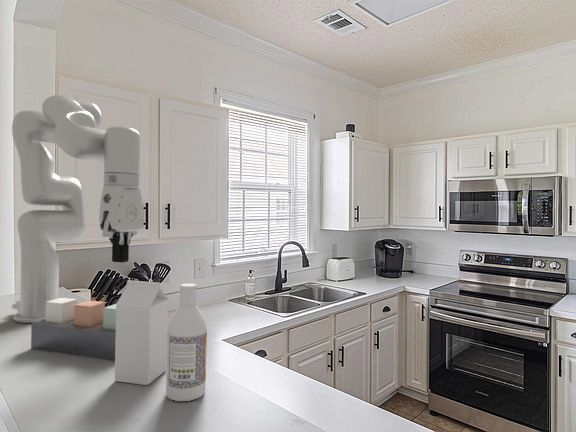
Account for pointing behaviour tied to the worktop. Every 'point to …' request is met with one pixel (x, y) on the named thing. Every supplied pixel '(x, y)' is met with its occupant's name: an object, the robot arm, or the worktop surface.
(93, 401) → the worktop surface
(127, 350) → the milk carton
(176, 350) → the bath foam
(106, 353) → the grey socket block
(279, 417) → the worktop surface
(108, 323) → the pale green block
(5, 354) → the worktop surface
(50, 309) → the ivory key
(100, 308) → the peach key
